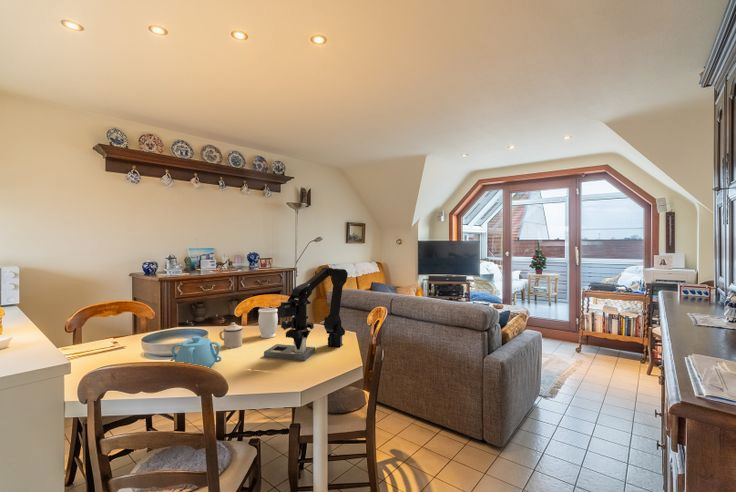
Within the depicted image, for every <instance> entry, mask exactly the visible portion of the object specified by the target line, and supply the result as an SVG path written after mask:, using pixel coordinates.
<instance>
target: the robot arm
mask: <svg viewBox="0 0 736 492" xmlns="http://www.w3.org/2000/svg"><path fill="white" fill-rule="evenodd" d="M329 277H330V280H331V284H332V290H331V291H332V292H331V297H330V298H331V301H330V305H329V306H330V307H329V308H330V309H329V314H328V315H327V316H324V322H323V326H324V329H325V331H326V334H328V337H327V348H339V349H340V348H342V346H344V343H343V336H345V334H346V330H345V329H344V328H343V327H342V320H341V315H340V310H341V304H342V303H341V302H342V295H343V288H344V286H345V284H346V283H347V280H348V277H349V273H348V271H347V270H346V269H345V268H333V267H329V266H324V267H322V268H321V269H320V270H319V271H318V272H317V273H315V274H314V275H313V276H312V277H310V279H309V280H307V281H306V282H304V283H301V284H299V285H297V286H295V287H293V289H292V293H291V294H290V296H289V297H288V299H287V301H281V302H280V305H279V306H278V308H277V309H278V311H277V315H278V316H279V318H281V319H284V318H290V317H292V318H291V319H290V320H284V321H281V324H280V325H281V326H280V328H281V329H283V331H286V330H287V329H289V330H287V331H286V332H285V338H290V339H291V338H292V339H293V343H294V342H295V345H296V348H297V350H299V349H300V347H301V343H302V340H303V337H305V338H306V340H307V339H308V337H309V335H310V333H311V330H313V329H314V327H315V326H314V323H313V322H312V321H311V322H310V321H308V319H309V315H307V314H308V312H307V311H308V305H310V304H312V302H311V301H309V298H310V296H311V295H312V293H313V291H314V290H315V289H316V288H317V287H318V286H319V285H320V284H322V282H324V281H325V280H326V279H327V278H329ZM309 329H310V330H309Z"/></svg>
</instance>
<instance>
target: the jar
mask: <svg viewBox="0 0 736 492" xmlns="http://www.w3.org/2000/svg"><path fill="white" fill-rule="evenodd" d="M278 309H279V308H275V307H266V308H265V307H264V308H260V309H258V313H259V314H258V329H259V332H260V338H262V339H270V338H275V337H276V336H277V334H276V332H277V329H278V321H279V317H278V316H279V314H278Z"/></svg>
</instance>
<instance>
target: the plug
mask: <svg viewBox="0 0 736 492" xmlns="http://www.w3.org/2000/svg"><path fill="white" fill-rule="evenodd" d="M293 345H294V352H301V353H304V352H305V351H306V347H307V339H306V338H305V337H303V340H302V343H301V347H300V349H299V350H297V348H296V345H295V342H294V341H293Z"/></svg>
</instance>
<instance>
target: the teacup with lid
mask: <svg viewBox="0 0 736 492" xmlns="http://www.w3.org/2000/svg"><path fill="white" fill-rule="evenodd" d="M243 329H244V328H243V326H242V325H238V324H237V323H236V322H230V324H229V325H228V326H225V327H224V328H223V330H221V331H220V332H219V339H220V341H223V347H224V348H225V349H235V348H239V347H242V345H243ZM222 333H223V336H222Z"/></svg>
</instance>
